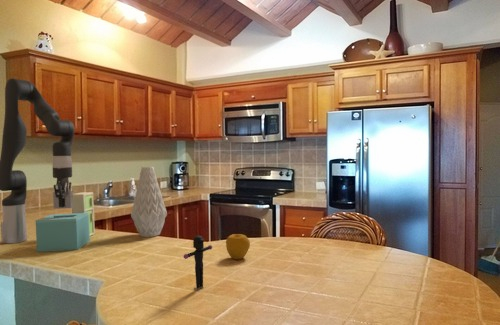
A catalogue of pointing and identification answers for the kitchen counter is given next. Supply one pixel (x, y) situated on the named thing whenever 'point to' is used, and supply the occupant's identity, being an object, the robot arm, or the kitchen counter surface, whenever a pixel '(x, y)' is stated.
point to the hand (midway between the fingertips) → (63, 206)
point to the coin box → (62, 232)
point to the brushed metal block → (67, 200)
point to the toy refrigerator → (85, 207)
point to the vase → (148, 205)
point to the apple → (237, 245)
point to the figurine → (198, 259)
